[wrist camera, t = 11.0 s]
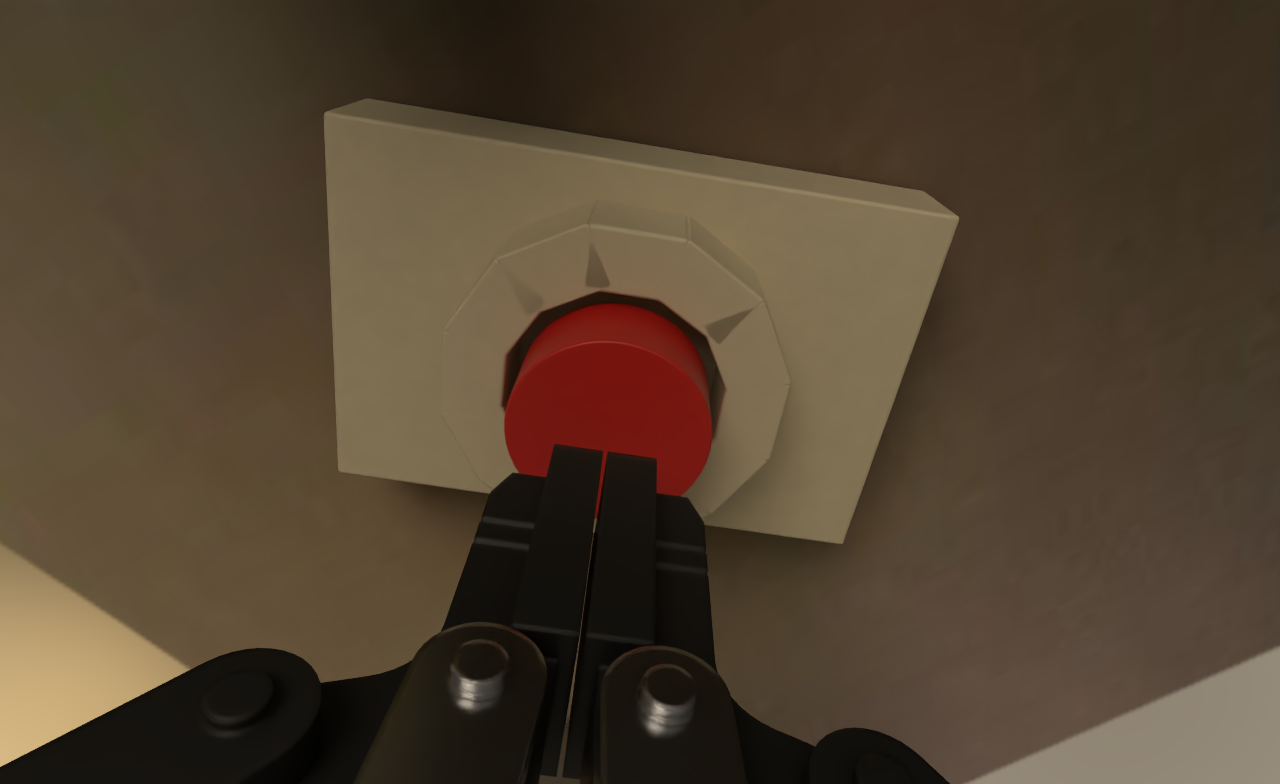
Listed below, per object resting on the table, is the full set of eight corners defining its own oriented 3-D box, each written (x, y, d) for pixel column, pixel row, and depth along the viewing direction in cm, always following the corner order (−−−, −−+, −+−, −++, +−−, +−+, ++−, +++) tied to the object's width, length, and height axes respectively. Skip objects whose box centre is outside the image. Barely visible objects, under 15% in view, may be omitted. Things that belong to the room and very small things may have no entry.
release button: (724, 318, 14) (732, 359, 12) (688, 479, 15) (690, 533, 14) (528, 287, 13) (511, 325, 12) (514, 454, 15) (496, 505, 14)
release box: (925, 190, 16) (1000, 244, 12) (825, 492, 20) (861, 599, 16) (364, 97, 15) (275, 126, 12) (370, 425, 19) (303, 521, 16)
